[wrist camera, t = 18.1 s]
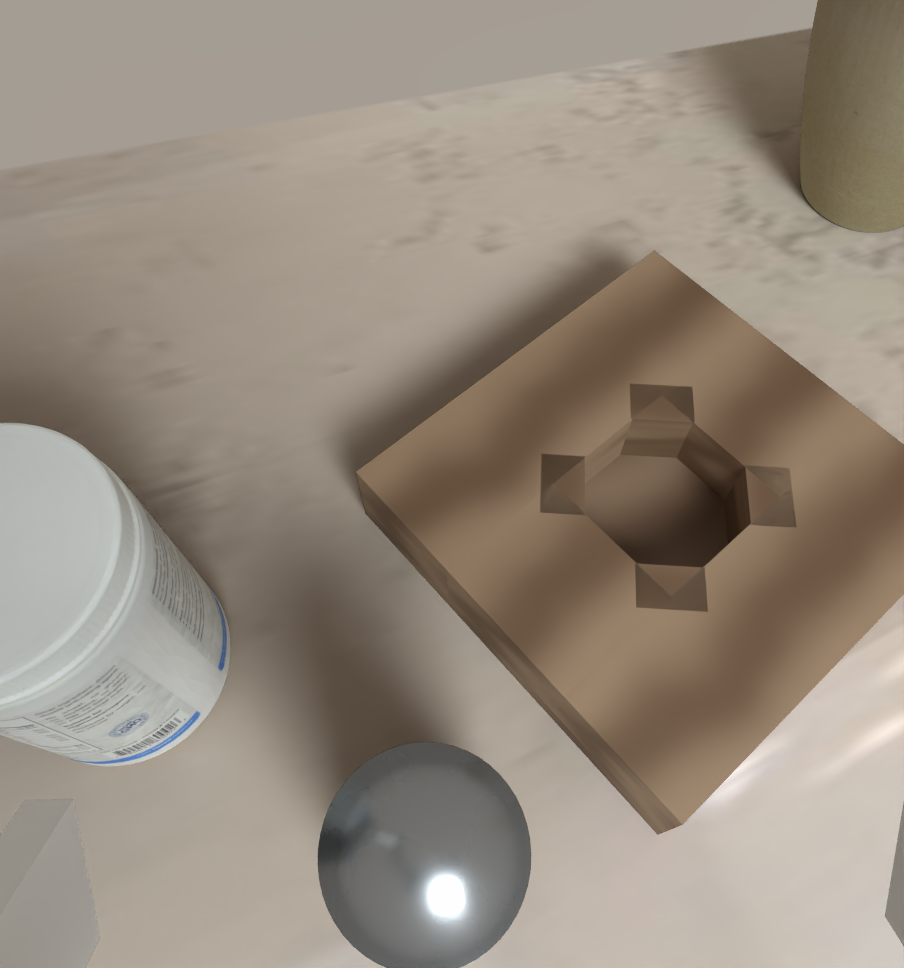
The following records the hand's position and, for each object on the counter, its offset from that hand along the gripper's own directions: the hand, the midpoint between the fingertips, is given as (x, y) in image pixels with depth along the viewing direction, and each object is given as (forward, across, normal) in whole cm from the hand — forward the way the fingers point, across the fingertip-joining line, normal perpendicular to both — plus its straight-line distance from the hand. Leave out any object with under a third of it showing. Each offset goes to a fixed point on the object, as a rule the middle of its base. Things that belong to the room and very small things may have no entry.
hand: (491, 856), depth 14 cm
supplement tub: (+24, -16, -10) cm, 31 cm away
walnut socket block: (+28, +9, -6) cm, 30 cm away
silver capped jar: (+18, -1, -16) cm, 24 cm away
